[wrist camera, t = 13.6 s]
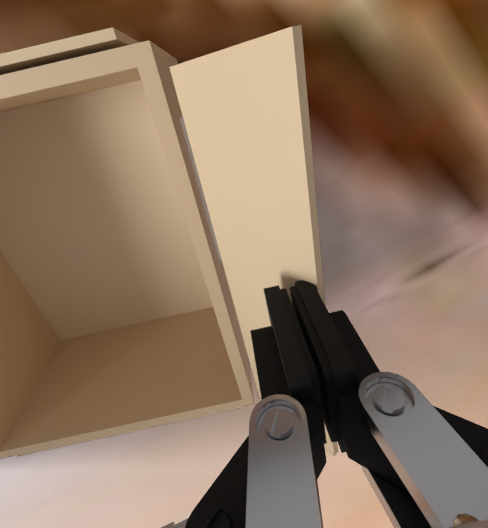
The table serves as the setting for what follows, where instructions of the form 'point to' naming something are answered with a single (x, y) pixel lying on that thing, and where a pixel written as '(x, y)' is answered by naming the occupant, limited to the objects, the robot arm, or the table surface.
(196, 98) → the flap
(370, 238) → the table surface
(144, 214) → the carton
